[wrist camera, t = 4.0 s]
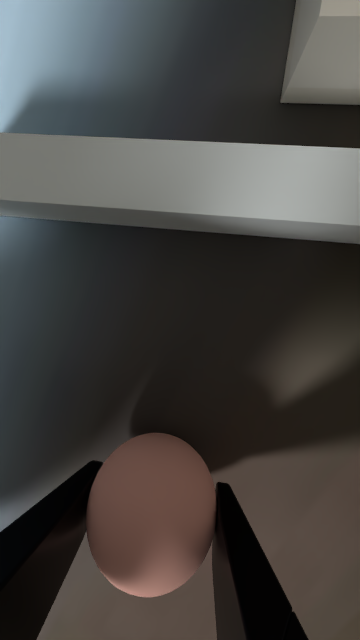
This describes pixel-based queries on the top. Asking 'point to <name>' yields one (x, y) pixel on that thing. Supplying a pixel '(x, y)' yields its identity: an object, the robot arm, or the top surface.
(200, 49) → the top surface
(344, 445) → the top surface
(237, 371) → the top surface
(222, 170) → the wall
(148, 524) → the ball
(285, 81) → the dish
